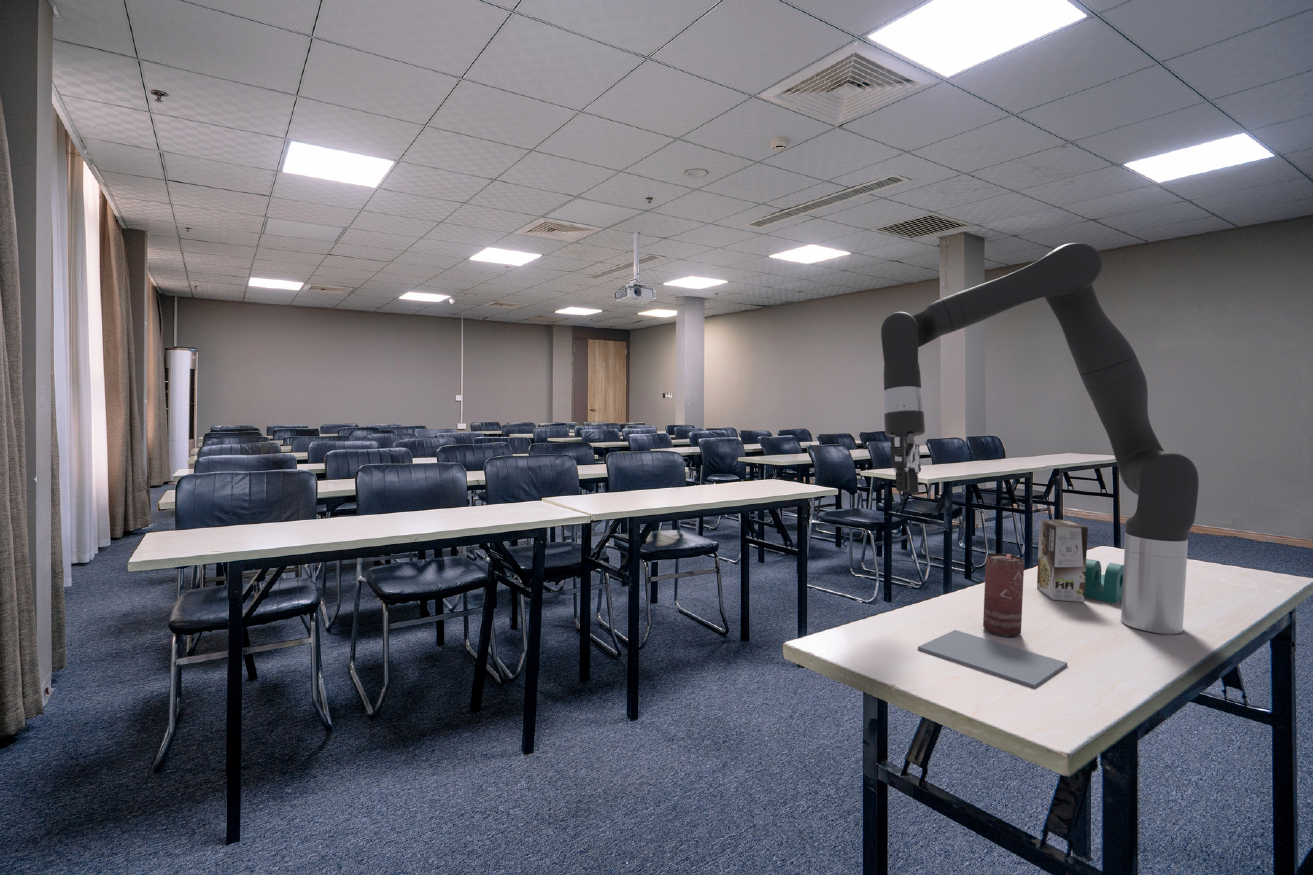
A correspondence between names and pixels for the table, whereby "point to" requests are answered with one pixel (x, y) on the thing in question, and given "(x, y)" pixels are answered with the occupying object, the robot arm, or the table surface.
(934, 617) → the table surface
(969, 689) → the table surface
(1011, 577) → the can
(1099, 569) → the bracket
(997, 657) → the mat
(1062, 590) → the coffee box
